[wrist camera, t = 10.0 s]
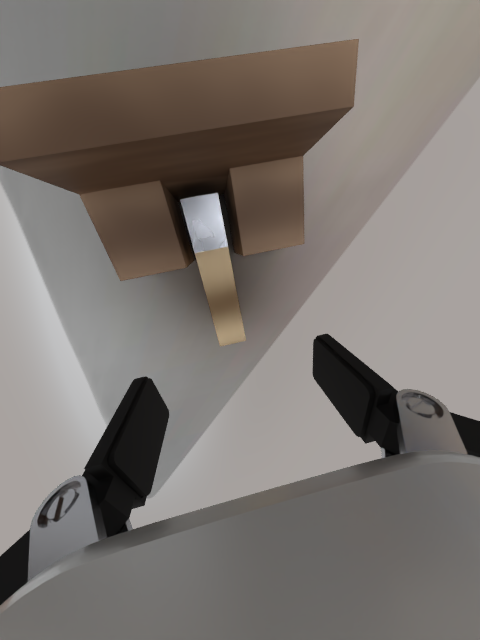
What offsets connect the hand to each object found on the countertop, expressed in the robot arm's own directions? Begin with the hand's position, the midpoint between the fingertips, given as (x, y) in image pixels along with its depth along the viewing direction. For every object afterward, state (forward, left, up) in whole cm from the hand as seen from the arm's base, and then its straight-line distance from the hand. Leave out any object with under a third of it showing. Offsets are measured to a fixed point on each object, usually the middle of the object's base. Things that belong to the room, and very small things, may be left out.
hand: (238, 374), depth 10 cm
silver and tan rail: (-3, 0, -15) cm, 15 cm away
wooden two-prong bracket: (-10, 0, -15) cm, 18 cm away
